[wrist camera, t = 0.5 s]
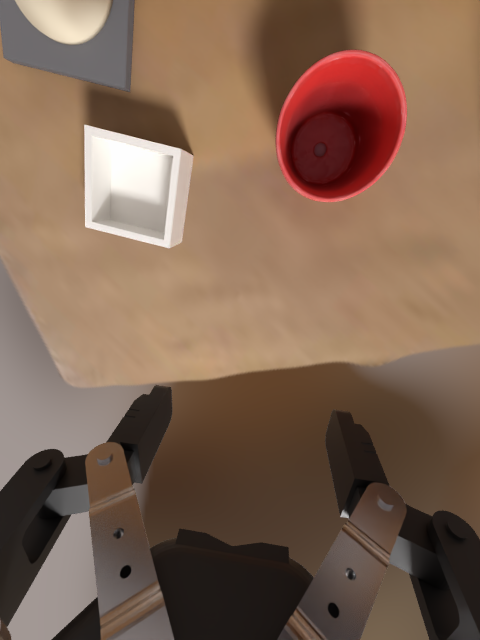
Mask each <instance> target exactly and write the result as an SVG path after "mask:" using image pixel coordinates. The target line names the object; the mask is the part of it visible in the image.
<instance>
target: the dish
mask: <svg viewBox="0 0 480 640" xmlns="http://www.w3.org/2000/svg"><path fill="white" fill-rule="evenodd" d="M84 130H85V227H88V228H92V229H95V230H99V231H103V232H107V233H111V234H115V235H119V236H123V237H127V238H131V239H135V240H139V241H143V242H147V243H151V244H155V245H159V246H162V247H166V248H171V247H173V246H175V245H177V244H179V243H181V242H182V237H183V230H184V223H185V215H186V208H187V200H188V193H189V186H190V178H191V171H192V164H193V155H191V154H190V153H188V152H186V151H184V150H182V149H179V148H175V147H171V146H167V145H163V144H159V143H155V142H151V141H147V140H143V139H139V138H135V137H131V136H128V135H124V134H120V133H116V132H112V131H108V130H104V129H100V128H96V127H92V126H88V125H84Z"/></svg>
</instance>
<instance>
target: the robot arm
mask: <svg viewBox="0 0 480 640" xmlns="http://www.w3.org/2000/svg"><path fill="white" fill-rule="evenodd" d="M171 416H172V390H171V387H165V386H159V385H156V386H154V388H153V390H152V391H151V393H150V394H149V395H146V394H143V395H141V396H140V397H139V398H137V399H136V400H135V401H134V402H133V404H132V405H131V407H130V408H129V410H128V411H127V413H126V414H125V416H124V417H123V418H122V420H121V421H120V423H119V424H118V426H117V427H116V429H115V430H114V432H113V433H112V435H111V436H110V438H109V439H108V441H107V442H106V443H103V444H101V445H98V446H96V447H95V448H94V449H92V450H91V451H90V452H89V454H87V455H82V456H75V457H68V458H64V455H63V453H62V452H61V451H59V450H56V449H48V450H44V451H41V452H39V453H37V454H35V455H33V456H32V457H30V458H29V459H28V460H27V461H26V462H25V463H24V464H23V465H22V466H21V468H20V469H19V470H18V471H17V472H16V473H15V475H14V476H13V477H12V478H11V479H10V481H9V482H8V483H7V484H6V485H5V486H4V487H3V489H2V490H1V491H0V640H11V634H10V632H9V630H8V628H7V626H8V625H9V623H10V621H11V619H12V618H13V616H14V614H15V612H16V611H17V609H18V607H19V605H20V603H21V602H22V600H23V598H24V596H25V595H26V593H27V591H28V590H29V588H30V586H31V584H32V582H33V581H34V579H35V577H36V575H37V574H38V572H39V570H40V569H41V566H42V565H43V563H44V562H45V560H46V558H47V556H48V554H49V553H50V551H51V549H52V548H53V546H54V544H55V542H56V540H57V539H58V537H59V535H60V534H61V532H62V530H63V528H64V526H65V525H66V523H67V521H68V520H69V518H70V516H71V514H76V513H82V512H87V511H89V517H90V527H91V537H92V545H93V546H92V547H93V556H94V565H95V575H96V585H97V595H98V597H97V598H96V599H94V601H92V602H91V603H90V604H89V605H88V606H87V607H86V608H85V609H84V610H83V611H82V612H81V613H80V614H78V615H77V616H76V617H75V618H74V619H73V620H72V621H71V622H70V623H69V624H68V625H67V626H66V627H64V629H62V630H61V631H60V632H59V633H58V634H57V635H56V636H55V637H54V638H53V639H52V640H360V639H361V636H362V633H363V631H364V628H365V625H366V622H367V620H368V617H369V615H370V612H371V610H372V607H373V604H374V601H375V599H376V596H377V594H378V591H379V588H380V585H381V583H382V580H383V578H384V575H385V573H386V570H387V567H388V564H389V563H391V564H392V565H394V566H396V567H398V568H400V569H402V570H404V571H406V572H408V573H409V575H410V578H411V581H412V584H413V588H414V591H415V594H416V597H417V601H418V604H419V607H420V610H421V614H422V617H423V620H424V623H425V626H426V630H427V633H428V636H429V640H480V539H479V538H478V536H477V535H476V533H475V531H474V530H473V529H472V528H471V526H469V524H468V523H466V522H465V521H464V520H463V519H461V518H460V517H459V516H457V515H455V514H453V513H451V512H448V511H437V512H435V513H434V515H433V516H430V515H428V514H425V513H423V512H421V511H419V510H416V509H414V508H412V507H410V506H409V505H407V504H405V502H404V500H403V499H402V497H401V496H400V495H399V493H398V492H397V491H395V490H394V489H393V488H391V487H390V486H389V483H388V481H387V478H386V476H385V473H384V471H383V468H382V466H381V463H380V461H379V458H378V456H377V454H376V450H375V448H374V446H373V443H372V440H371V438H370V435H369V433H368V432H367V431H366V430H365V429H364V428H363V427H362V425H360V424H354V421H353V418H352V415H351V413H350V412H348V411H339V410H333V411H332V414H331V417H330V421H329V424H328V428H327V432H326V440H325V441H326V449H327V454H328V459H329V464H330V469H331V473H332V478H333V483H334V488H335V493H336V498H337V503H338V508H339V513H340V516H341V517H346V518H349V520H348V522H347V523H345V525H344V526H343V528H342V529H341V531H340V533H339V535H338V536H337V538H336V540H335V542H334V543H333V545H332V547H331V549H330V550H329V552H328V554H327V556H326V558H325V559H324V561H323V563H322V564H321V566H320V568H319V570H318V571H317V573H316V575H315V577H313V576H312V575H311V574H310V573H309V572H308V571H307V570H306V569H305V568H304V567H303V566H302V565H300V564H299V563H298V562H296V561H295V560H293V559H291V558H289V551H288V547H284V546H278V545H272V544H267V543H254V544H247V545H240V546H230V545H228V544H226V543H224V542H222V541H220V540H218V539H216V538H214V537H212V536H210V535H209V534H207V533H202V532H196V531H191V530H185V529H179V532H178V536H177V538H174V539H169V540H166V541H164V542H161V543H159V544H157V545H155V546H153V547H152V548H150V547H149V543H148V539H147V536H146V532H145V528H144V524H143V520H142V516H141V512H140V508H139V504H138V501H137V497H136V493H135V490H134V489H133V486H132V485H133V483H134V482H136V483H143V480H144V478H145V476H146V474H147V472H148V469H149V467H150V465H151V463H152V461H153V459H154V456H155V454H156V452H157V450H158V447H159V445H160V443H161V441H162V439H163V437H164V434H165V432H166V430H167V428H168V426H169V423H170V420H171Z"/></svg>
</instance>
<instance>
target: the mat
mask: <svg viewBox="0 0 480 640" xmlns="http://www.w3.org/2000/svg"><path fill="white" fill-rule="evenodd" d="M134 1H135V0H113V4H112V8H111V11H110V14H109V17H108V19H107V21H106V23H105V25H104V27H103V28H102V29H101V31H100V32H99V33H98V34H97V35H96V36H95V37H94V38H93V39H91V40H89V41H88V42H85V43H83V44H79V45H66V44H62V43H59V42H56V41H54V40H52V39H50V38H49V37H48V36H46V35H45V34H43V33H42V32H40V31H39V30H38V29H37V28H36V27H34V26H33V25H32V24H31V23H30V21H29V20H28V19H27V18H26V17H25V15H24V14H23V13H22V11H21V10H20V8H19V7H18V5H17V3H16V2H15V0H0V26H1V35H2V45H3V55H4V58H5V59H7V60H9V61H11V62H13V63H16V64H20V65H24V66H28V67H32V68H36V69H40V70H44V71H48V72H52V73H56V74H60V75H64V76H68V77H72V78H76V79H80V80H84V81H88V82H92V83H96V84H100V85H104V86H108V87H112V88H116V89H120V90H124V91H128V92H130V85H131V64H132V43H133V22H134Z"/></svg>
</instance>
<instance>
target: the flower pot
mask: <svg viewBox="0 0 480 640" xmlns="http://www.w3.org/2000/svg"><path fill="white" fill-rule="evenodd" d="M406 119H407V104H406V96H405V92H404V89H403V86H402V83H401V81H400V79H399V77H398V75H397V74H396V72H395V71H394V70H393V68H392V67H391V66H390V65H389V64H388V63H387V62H386V61H385V60H383V59H382V58H381V57H379V56H377V55H375V54H372V53H370V52H367V51H362V50H343V51H339V52H336V53H332V54H330V55H328V56H326V57H324V58H322V59H320V60H319V61H317V62H316V63H315V64H313V65H312V66H311V67H310V68H308V69H307V70H306V71H305V72H304V73H303V74H302V75H301V77H300V78H299V79H298V80H297V82H296V83H295V84H294V86H293V87H292V89H291V90H290V92H289V94H288V96H287V97H286V99H285V102H284V104H283V106H282V109H281V112H280V115H279V119H278V123H277V129H276V153H277V159H278V162H279V165H280V168H281V171H282V173H283V175H284V177H285V179H286V180H287V182H288V183H289V184H290V186H291V187H292V188H293V189H294V190H295V191H297V192H298V193H299V194H301V195H303V196H304V197H307V198H309V199H312V200H316V201H321V202H335V201H341V200H345V199H348V198H351V197H353V196H355V195H358V194H359V193H361V192H363V191H365V190H366V189H367V188H369V187H370V186H372V185H373V184H374V183H375V182H376V181H377V180H378V179H379V178H380V177H381V176H382V175H383V174H384V173H385V171H386V170H387V169H388V167H389V166H390V165H391V163H392V161H393V160H394V158H395V156H396V154H397V152H398V150H399V147H400V145H401V142H402V139H403V136H404V132H405V127H406Z"/></svg>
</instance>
